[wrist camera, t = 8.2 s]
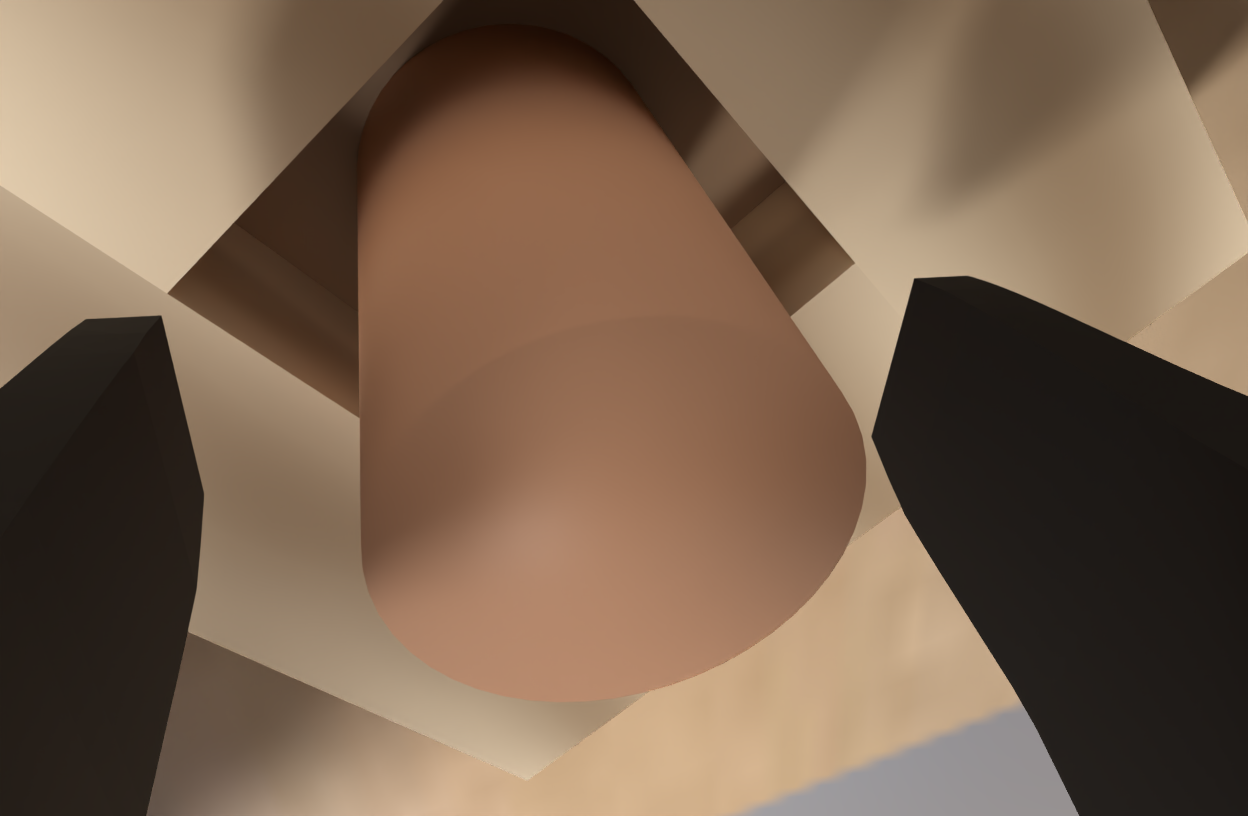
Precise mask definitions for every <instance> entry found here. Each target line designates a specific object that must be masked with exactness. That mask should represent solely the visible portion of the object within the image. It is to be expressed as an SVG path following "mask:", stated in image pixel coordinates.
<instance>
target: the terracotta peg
mask: <svg viewBox="0 0 1248 816" xmlns="http://www.w3.org/2000/svg"><path fill="white" fill-rule="evenodd" d="M357 222H358V318H359V414H360V510H361V554H362V569H363V573H364V577H365V580H366V584H367V588H368V592H369V594H370V597H371V599H372V601H373V603H374V605H375V607H376V610H377V612H378V614H379V616H380V617H381V618H382V620H383V621H384V623H385V624H386V626H387V627H388V628H389V630H390V631H391V633H392V634H393V635H394V636H395V637H396V638H397V639H398V640H399V641H400V642H401V643H402V644H403V645H404V646H405V647H406V648H407V649H408V650H409V651H410V652H411V653H412V654H413V655H415V656H416V657H417V658H419V659H420V660H421V661H423V662H424V663H425V664H427V665H428V666H429V667H431V668H433V669H435V670H436V671H438V672H440V673H442V674H444V675H446V676H447V677H449V678H451V679H453V680H455V681H458V682H460V683H463V684H465V685H468V686H471V687H473V688H476V689H479V690H482V691H486V692H490V693H493V694H497V695H501V696H505V697H512V698H518V699H524V700H530V701H546V702H587V701H596V700H605V699H614V698H619V697H624V696H630V695H635V694H640V693H644V692H648V691H651V690H655V689H659V688H662V687H666V686H669V685H672V684H675V683H678V682H680V681H683V680H686V679H689V678H691V677H694V676H697V675H699V674H701V673H703V672H706V671H708V670H710V669H712V668H714V667H716V666H718V665H721V664H723V663H725V662H727V661H728V660H730V659H732V658H734V657H735V656H737V655H739V654H741V653H742V652H744V651H746V650H748V649H749V648H751V647H752V646H754V645H755V644H757V643H758V642H760V641H761V640H762V639H764V638H765V637H767V636H768V635H770V634H771V633H773V632H774V631H775V630H776V629H777V628H779V627H780V626H781V625H782V624H783V623H785V622H786V621H787V620H788V619H790V618H791V617H792V616H793V615H794V614H795V613H796V612H797V611H798V610H799V609H800V608H801V607H802V606H803V605H804V604H805V603H806V602H807V601H808V600H809V599H810V598H811V597H812V596H813V595H814V594H815V592H816V591H817V590H818V589H819V588H820V586H821V585H822V584H823V583H824V581H825V580H826V579H827V578H828V577H829V575H830V574H831V572H832V571H833V569H834V568H835V566H836V564H837V563H838V561H839V560H840V558H841V557H842V555H843V553H844V551H845V549H846V547H847V545H848V543H849V541H850V539H851V537H852V535H853V533H854V531H855V528H856V525H857V522H858V518H859V515H860V512H861V509H862V505H863V499H864V493H865V488H866V455H865V449H864V443H863V437H862V434H861V431H860V428H859V425H858V423H857V420H856V417H855V414H854V412H853V410H852V409H851V407H850V405H849V404H848V402H847V400H846V399H845V397H844V395H843V393H842V392H841V390H840V389H839V387H838V386H837V384H836V383H835V381H834V380H833V379H832V377H831V376H830V374H829V373H828V371H827V370H826V368H825V367H824V365H823V364H822V362H821V361H820V360H819V358H818V357H817V355H816V354H815V352H814V351H813V349H812V348H811V346H810V345H809V343H808V342H807V340H806V339H805V338H804V336H803V335H802V333H801V332H800V330H799V329H798V327H797V326H796V324H795V323H794V321H793V320H792V319H791V317H790V316H789V314H788V313H787V311H786V310H785V308H784V307H783V305H782V304H781V302H780V301H779V300H778V298H777V297H776V295H775V294H774V292H773V291H772V289H771V288H770V286H769V285H768V283H767V282H766V280H765V279H764V278H763V276H762V275H761V273H760V272H759V270H758V269H757V267H756V266H755V264H754V263H753V261H752V260H751V259H750V257H749V256H748V254H747V253H746V251H745V250H744V248H743V247H742V245H741V244H740V242H739V241H738V240H737V238H736V237H735V235H734V234H733V232H732V231H731V229H730V228H729V226H728V225H727V223H726V222H725V220H724V219H723V218H722V216H721V215H720V213H719V212H718V210H717V209H716V207H715V206H714V204H713V203H712V201H711V200H710V199H709V197H708V196H707V194H706V193H705V191H704V190H703V188H702V187H701V185H700V184H699V182H698V181H697V180H696V178H695V177H694V175H693V174H692V172H691V171H690V169H689V168H688V166H687V165H686V163H685V162H684V160H683V159H682V158H681V156H680V155H679V153H678V152H677V150H676V149H675V147H674V146H673V144H672V143H671V141H670V140H669V139H668V137H667V136H666V134H665V133H664V131H663V130H662V128H661V127H660V125H659V124H658V122H657V121H656V120H655V118H654V117H653V115H652V114H651V112H650V111H649V109H648V108H647V106H646V105H645V103H644V102H643V100H642V99H641V98H640V96H639V95H638V93H637V92H636V90H635V89H634V87H633V86H632V84H631V83H630V82H629V81H628V80H627V78H626V77H625V76H624V75H623V73H622V72H621V71H620V70H619V69H618V68H617V67H616V66H615V65H614V64H613V63H612V62H611V61H609V60H608V59H607V58H606V57H605V56H604V55H602V54H601V53H599V52H598V51H597V50H595V49H594V48H592V47H591V46H589V45H588V44H586V43H584V42H582V41H580V40H578V39H576V38H574V37H572V36H570V35H567V34H564V33H561V32H558V31H555V30H552V29H549V28H544V27H538V26H533V25H525V24H496V25H486V26H481V27H477V28H472V29H467V30H464V31H461V32H459V33H456V34H453V35H450V36H448V37H445V38H443V39H441V40H439V41H438V42H436V43H434V44H432V45H430V46H428V47H426V48H425V49H424V50H422V51H421V52H419V53H418V54H417V55H415V56H414V57H413V58H411V59H410V60H409V61H408V62H407V63H405V64H404V65H403V66H402V67H401V68H400V69H399V70H398V71H397V72H396V73H395V74H394V75H393V76H392V78H391V79H390V80H389V82H388V83H387V84H386V85H385V87H384V88H383V89H382V90H381V92H380V94H379V96H378V97H377V99H376V101H375V102H374V104H373V106H372V108H371V110H370V112H369V115H368V117H367V120H366V122H365V125H364V127H363V131H362V135H361V139H360V144H359V149H358V160H357Z"/></svg>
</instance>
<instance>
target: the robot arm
mask: <svg viewBox="0 0 1248 816" xmlns="http://www.w3.org/2000/svg"><path fill="white" fill-rule="evenodd" d="M871 437H872V440H873V442H874V445H875V447H876V450H877V452H878V454H879V457H880V459H881V462H882V464H883V467H884V469H885V472H886V474H887V477H888V479H889V481H890V483H891V486H892V488H893V490H894V492H895V494H896V496H897V499H898V501H899V503H900V505H901V507H902V509H903V512H904V514H905V516H906V517H907V519H908V521H909V522H910V524H911V526H912V527H913V529H914V531H915V533H916V534H917V536H918V537H919V539H920V541H921V542H922V544H923V546H924V547H925V549H926V550H927V552H928V554H929V555H930V557H931V558H932V560H933V562H934V563H935V565H936V567H937V568H938V570H939V571H940V573H941V575H942V576H943V578H944V579H945V581H946V583H947V584H948V586H949V587H950V589H951V590H952V592H953V594H954V595H955V597H956V598H957V600H958V602H959V603H960V605H961V606H962V608H963V609H964V611H965V613H966V614H967V616H968V617H969V619H970V620H971V622H972V624H973V625H974V627H975V628H976V630H977V631H978V633H979V635H980V636H981V638H982V639H983V641H984V643H985V644H986V646H987V647H988V649H989V650H990V652H991V654H992V655H993V657H994V658H995V660H996V661H997V663H998V665H999V666H1000V668H1001V669H1002V671H1003V673H1004V674H1005V676H1006V677H1007V679H1008V680H1009V682H1010V684H1011V685H1012V687H1013V688H1014V690H1015V692H1016V694H1017V695H1018V697H1019V699H1020V701H1021V702H1022V704H1023V706H1024V708H1025V709H1026V711H1027V713H1028V715H1029V716H1030V718H1031V720H1032V722H1033V723H1034V725H1035V727H1036V729H1037V731H1038V733H1039V735H1040V737H1041V739H1042V741H1043V743H1044V745H1045V747H1046V749H1047V751H1048V753H1049V755H1050V757H1051V759H1052V761H1053V763H1054V765H1055V767H1056V769H1057V771H1058V773H1059V775H1060V777H1061V779H1062V782H1063V783H1064V785H1065V788H1066V790H1067V792H1068V794H1069V796H1070V798H1071V800H1072V802H1073V804H1074V806H1075V808H1076V810H1077V812H1078V814H1079V816H1248V396H1246V395H1244V394H1241V393H1239V392H1236V391H1234V390H1232V389H1229V388H1227V387H1224V386H1222V385H1220V384H1217V383H1215V382H1213V381H1211V380H1208V379H1206V378H1204V377H1201V376H1199V375H1197V374H1195V373H1192V372H1190V371H1188V370H1186V369H1183V368H1181V367H1179V366H1177V365H1174V364H1172V363H1170V362H1168V361H1166V360H1163V359H1161V358H1159V357H1157V356H1155V355H1152V354H1150V353H1148V352H1146V351H1144V350H1142V349H1139V348H1137V347H1135V346H1133V345H1131V344H1129V343H1126V342H1124V341H1122V340H1120V339H1118V338H1116V337H1113V336H1111V335H1109V334H1107V333H1105V332H1103V331H1101V330H1098V329H1096V328H1094V327H1092V326H1090V325H1088V324H1085V323H1083V322H1081V321H1079V320H1077V319H1075V318H1072V317H1070V316H1068V315H1066V314H1064V313H1062V312H1059V311H1057V310H1055V309H1053V308H1050V307H1048V306H1046V305H1044V304H1042V303H1039V302H1037V301H1035V300H1032V299H1030V298H1028V297H1025V296H1023V295H1021V294H1018V293H1016V292H1013V291H1011V290H1008V289H1006V288H1003V287H1001V286H998V285H995V284H992V283H990V282H987V281H984V280H981V279H977V278H974V277H971V276H949V277H929V278H914V281H913V284H912V288H911V292H910V295H909V299H908V303H907V306H906V310H905V314H904V317H903V321H902V325H901V329H900V332H899V336H898V340H897V343H896V347H895V351H894V354H893V358H892V362H891V365H890V369H889V373H888V376H887V380H886V384H885V387H884V391H883V395H882V399H881V402H880V406H879V410H878V413H877V417H876V421H875V424H874V428H873V432H872V435H871ZM203 506H204V491H203V487H202V482H201V478H200V474H199V470H198V466H197V461H196V457H195V453H194V449H193V445H192V441H191V436H190V432H189V428H188V424H187V420H186V416H185V411H184V407H183V403H182V399H181V395H180V390H179V386H178V382H177V378H176V374H175V370H174V365H173V361H172V357H171V353H170V349H169V345H168V340H167V336H166V332H165V328H164V324H163V319H162V315H158V316H138V317H118V318H97V319H85V320H84V321H82V322H81V323H80V324H78V325H77V326H75V327H74V328H72V329H71V330H70V331H69V332H67V333H66V334H65V335H63V336H62V337H61V338H60V339H59V340H57V341H56V342H55V343H54V344H52V345H51V346H50V347H49V348H48V349H46V350H45V351H44V352H43V353H42V354H40V355H39V356H38V357H37V358H36V359H34V360H33V361H32V362H31V363H30V364H29V365H27V366H26V367H25V368H24V369H23V370H21V371H20V372H19V373H18V374H17V375H16V376H14V377H13V378H12V379H11V380H10V381H8V382H7V383H6V384H5V385H4V386H3V387H1V388H0V816H146V813H147V809H148V805H149V800H150V796H151V791H152V787H153V783H154V778H155V774H156V769H157V765H158V761H159V756H160V752H161V747H162V743H163V739H164V734H165V730H166V726H167V721H168V717H169V712H170V708H171V704H172V699H173V695H174V691H175V686H176V682H177V677H178V673H179V669H180V664H181V660H182V655H183V651H184V646H185V641H186V637H187V632H188V628H189V623H190V619H191V614H192V610H193V605H194V600H195V595H196V590H197V581H198V570H199V559H200V548H201V534H202V520H203Z"/></svg>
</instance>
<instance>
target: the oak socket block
mask: <svg viewBox="0 0 1248 816" xmlns="http://www.w3.org/2000/svg"><path fill="white" fill-rule="evenodd" d="M496 24H525V25H533V26H538V27H544V28H549V29H552V30H555V31H558V32H561V33H564V34H567V35H570V36H572V37H574V38H576V39H578V40H580V41H582V42H584V43H586V44H588V45H589V46H591V47H592V48H594V49H595V50H597V51H598V52H599V53H601V54H602V55H604V56H605V57H606V58H607V59H608V60H609V61H611V62H612V63H613V64H614V65H615V66H616V67H617V68H618V69H619V70H620V71H621V72H622V73H623V75H624V76H625V77H626V78H627V80H628V81H629V82H630V83H631V84H632V86H633V87H634V89H635V90H636V92H637V93H638V95H639V96H640V98H641V99H642V100H643V102H644V103H645V105H646V106H647V108H648V109H649V111H650V112H651V114H652V115H653V117H654V118H655V120H656V121H657V122H658V124H659V125H660V127H661V128H662V130H663V131H664V133H665V134H666V136H667V137H668V139H669V140H670V141H671V143H672V144H673V146H674V147H675V149H676V150H677V152H678V153H679V155H680V156H681V158H682V159H683V160H684V162H685V163H686V165H687V166H688V168H689V169H690V171H691V172H692V174H693V175H694V177H695V178H696V180H697V181H698V182H699V184H700V185H701V187H702V188H703V190H704V191H705V193H706V194H707V196H708V197H709V199H710V200H711V201H712V203H713V204H714V206H715V207H716V209H717V210H718V212H719V213H720V215H721V216H722V218H723V219H724V220H725V222H726V223H727V225H728V226H729V228H730V229H731V231H732V232H733V234H734V235H735V237H736V238H737V240H738V241H739V242H740V244H741V245H742V247H743V248H744V250H745V251H746V253H747V254H748V256H749V257H750V259H751V260H752V261H753V263H754V264H755V266H756V267H757V269H758V270H759V272H760V273H761V275H762V276H763V278H764V279H765V280H766V282H767V283H768V285H769V286H770V288H771V289H772V291H773V292H774V294H775V295H776V297H777V298H778V300H779V301H780V302H781V304H782V305H783V307H784V308H785V310H786V311H787V313H788V314H789V316H790V317H791V319H792V320H793V321H794V323H795V324H796V326H797V327H798V329H799V330H800V332H801V333H802V335H803V336H804V338H805V339H806V340H807V342H808V343H809V345H810V346H811V348H812V349H813V351H814V352H815V354H816V355H817V357H818V358H819V360H820V361H821V362H822V364H823V365H824V367H825V368H826V370H827V371H828V373H829V374H830V376H831V377H832V379H833V380H834V381H835V383H836V384H837V386H838V387H839V389H840V390H841V392H842V393H843V395H844V397H845V399H846V400H847V402H848V404H849V405H850V407H851V409H852V410H853V412H854V414H855V417H856V420H857V423H858V425H859V428H860V431H861V434H862V437H863V443H864V449H865V455H866V488H865V493H864V499H863V505H862V509H861V512H860V515H859V518H858V522H857V525H856V528H855V531H854V533H853V535H852V537H851V539H850V541H849V543H848V545H847V546H849V545H850V544H851V543H853V542H854V541H855V540H857V539H858V538H859V537H861V536H862V535H864V534H865V533H866V532H868V531H869V530H870V529H872V528H873V527H874V526H876V525H877V524H879V523H880V522H881V521H883V520H884V519H885V518H887V517H888V516H889V515H891V514H892V513H894V512H895V511H896V510H898V509H899V508H900V507H901V505H900V503H899V501H898V499H897V496H896V494H895V492H894V490H893V488H892V486H891V483H890V481H889V479H888V477H887V474H886V472H885V469H884V467H883V464H882V462H881V459H880V457H879V454H878V452H877V450H876V447H875V445H874V442H873V440H872V437H871V435H872V432H873V428H874V424H875V421H876V417H877V413H878V410H879V406H880V402H881V399H882V395H883V391H884V387H885V384H886V380H887V376H888V373H889V369H890V365H891V362H892V358H893V354H894V351H895V347H896V343H897V340H898V336H899V332H900V329H901V325H902V321H903V317H904V314H905V310H906V306H907V303H908V299H909V295H910V292H911V288H912V284H913V281H914V278H929V277H949V276H971V277H974V278H977V279H981V280H984V281H987V282H990V283H992V284H995V285H998V286H1001V287H1003V288H1006V289H1008V290H1011V291H1013V292H1016V293H1018V294H1021V295H1023V296H1025V297H1028V298H1030V299H1032V300H1035V301H1037V302H1039V303H1042V304H1044V305H1046V306H1048V307H1050V308H1053V309H1055V310H1057V311H1059V312H1062V313H1064V314H1066V315H1068V316H1070V317H1072V318H1075V319H1077V320H1079V321H1081V322H1083V323H1085V324H1088V325H1090V326H1092V327H1094V328H1096V329H1098V330H1101V331H1103V332H1105V333H1107V334H1109V335H1111V336H1113V337H1116V338H1118V339H1120V340H1122V341H1124V342H1127V341H1128V340H1130V339H1131V338H1132V337H1134V336H1135V335H1136V334H1138V333H1139V332H1141V331H1142V330H1143V329H1145V328H1146V327H1147V326H1149V325H1150V324H1151V323H1153V322H1154V321H1156V320H1157V319H1158V318H1160V317H1161V316H1162V315H1164V314H1165V313H1166V312H1168V311H1169V310H1171V309H1172V308H1173V307H1175V306H1176V305H1177V304H1179V303H1180V302H1181V301H1183V300H1184V299H1186V298H1187V297H1188V296H1190V295H1191V294H1192V293H1194V292H1195V291H1196V290H1198V289H1199V288H1201V287H1202V286H1203V285H1205V284H1206V283H1207V282H1209V281H1210V280H1211V279H1213V278H1214V277H1216V276H1217V275H1218V274H1220V273H1221V272H1222V271H1224V270H1225V269H1226V268H1228V267H1229V266H1231V265H1232V264H1233V263H1235V262H1236V261H1237V260H1239V259H1240V258H1241V257H1243V256H1244V255H1246V254H1247V253H1248V222H1247V220H1246V218H1245V215H1244V213H1243V211H1242V209H1241V206H1240V204H1239V202H1238V200H1237V198H1236V195H1235V193H1234V191H1233V189H1232V186H1231V184H1230V182H1229V180H1228V178H1227V175H1226V173H1225V171H1224V169H1223V167H1222V164H1221V162H1220V160H1219V158H1218V155H1217V153H1216V151H1215V149H1214V147H1213V144H1212V142H1211V140H1210V138H1209V135H1208V133H1207V131H1206V129H1205V127H1204V124H1203V122H1202V120H1201V118H1200V116H1199V113H1198V111H1197V109H1196V107H1195V104H1194V102H1193V100H1192V98H1191V96H1190V93H1189V91H1188V89H1187V87H1186V84H1185V82H1184V80H1183V78H1182V76H1181V73H1180V71H1179V69H1178V67H1177V65H1176V62H1175V60H1174V58H1173V56H1172V53H1171V51H1170V49H1169V47H1168V45H1167V42H1166V40H1165V38H1164V36H1163V33H1162V31H1161V29H1160V27H1159V25H1158V22H1157V20H1156V18H1155V16H1154V13H1153V11H1152V9H1151V7H1150V5H1149V2H1148V0H0V388H1V387H3V386H4V385H5V384H6V383H7V382H8V381H10V380H11V379H12V378H13V377H14V376H16V375H17V374H18V373H19V372H20V371H21V370H23V369H24V368H25V367H26V366H27V365H29V364H30V363H31V362H32V361H33V360H34V359H36V358H37V357H38V356H39V355H40V354H42V353H43V352H44V351H45V350H46V349H48V348H49V347H50V346H51V345H52V344H54V343H55V342H56V341H57V340H59V339H60V338H61V337H62V336H63V335H65V334H66V333H67V332H69V331H70V330H71V329H72V328H74V327H75V326H77V325H78V324H80V323H81V322H82V321H84V320H85V319H97V318H118V317H138V316H158V315H162V319H163V324H164V328H165V332H166V336H167V340H168V345H169V349H170V353H171V357H172V361H173V365H174V370H175V374H176V378H177V382H178V386H179V390H180V395H181V399H182V403H183V407H184V411H185V416H186V420H187V424H188V428H189V432H190V436H191V441H192V445H193V449H194V453H195V457H196V461H197V466H198V470H199V474H200V478H201V482H202V487H203V491H204V506H203V520H202V534H201V548H200V559H199V570H198V581H197V590H196V595H195V600H194V605H193V610H192V614H191V619H190V623H189V628H188V632H189V633H191V634H194V635H196V636H198V637H201V638H203V639H205V640H207V641H210V642H212V643H214V644H216V645H219V646H221V647H223V648H226V649H228V650H230V651H232V652H235V653H237V654H239V655H242V656H244V657H246V658H248V659H251V660H253V661H255V662H258V663H260V664H262V665H264V666H267V667H269V668H271V669H273V670H276V671H278V672H280V673H283V674H285V675H287V676H289V677H292V678H294V679H296V680H299V681H301V682H303V683H305V684H308V685H310V686H312V687H314V688H317V689H319V690H321V691H324V692H326V693H328V694H330V695H333V696H335V697H337V698H340V699H342V700H344V701H346V702H349V703H351V704H353V705H356V706H358V707H360V708H362V709H365V710H367V711H369V712H371V713H374V714H376V715H378V716H381V717H383V718H385V719H387V720H390V721H392V722H394V723H397V724H399V725H401V726H403V727H406V728H408V729H410V730H413V731H415V732H417V733H419V734H422V735H424V736H426V737H428V738H431V739H433V740H435V741H438V742H440V743H442V744H444V745H447V746H449V747H451V748H454V749H456V750H458V751H460V752H463V753H465V754H467V755H469V756H472V757H474V758H476V759H479V760H481V761H483V762H485V763H488V764H490V765H492V766H495V767H497V768H499V769H501V770H504V771H506V772H508V773H511V774H513V775H515V776H517V777H520V778H522V779H524V780H526V781H528V780H529V779H531V778H532V777H533V776H535V775H536V774H537V773H539V772H540V771H542V770H543V769H544V768H546V767H547V766H548V765H550V764H551V763H552V762H554V761H555V760H557V759H558V758H559V757H561V756H562V755H563V754H565V753H566V752H567V751H569V750H570V749H572V748H573V747H574V746H576V745H577V744H578V743H580V742H581V741H582V740H584V739H585V738H587V737H588V736H589V735H591V734H592V733H593V732H595V731H596V730H597V729H599V728H600V727H602V726H603V725H604V724H606V723H607V722H608V721H610V720H611V719H612V718H614V717H615V716H617V715H618V714H619V713H621V712H622V711H623V710H625V709H626V708H628V707H629V706H630V705H632V704H633V703H634V702H636V701H637V700H638V699H640V698H641V697H643V696H644V695H645V694H647V693H648V692H649V691H648V692H644V693H640V694H635V695H630V696H624V697H619V698H614V699H605V700H596V701H587V702H546V701H530V700H524V699H518V698H512V697H505V696H501V695H497V694H493V693H490V692H486V691H482V690H479V689H476V688H473V687H471V686H468V685H465V684H463V683H460V682H458V681H455V680H453V679H451V678H449V677H447V676H446V675H444V674H442V673H440V672H438V671H436V670H435V669H433V668H431V667H429V666H428V665H427V664H425V663H424V662H423V661H421V660H420V659H419V658H417V657H416V656H415V655H413V654H412V653H411V652H410V651H409V650H408V649H407V648H406V647H405V646H404V645H403V644H402V643H401V642H400V641H399V640H398V639H397V638H396V637H395V636H394V635H393V634H392V633H391V631H390V630H389V628H388V627H387V626H386V624H385V623H384V621H383V620H382V618H381V617H380V616H379V614H378V612H377V610H376V607H375V605H374V603H373V601H372V599H371V597H370V594H369V592H368V588H367V584H366V580H365V577H364V573H363V569H362V554H361V510H360V414H359V318H358V222H357V160H358V149H359V144H360V139H361V135H362V131H363V127H364V125H365V122H366V120H367V117H368V115H369V112H370V110H371V108H372V106H373V104H374V102H375V101H376V99H377V97H378V96H379V94H380V92H381V90H382V89H383V88H384V87H385V85H386V84H387V83H388V82H389V80H390V79H391V78H392V76H393V75H394V74H395V73H396V72H397V71H398V70H399V69H400V68H401V67H402V66H403V65H404V64H405V63H407V62H408V61H409V60H410V59H411V58H413V57H414V56H415V55H417V54H418V53H419V52H421V51H422V50H424V49H425V48H426V47H428V46H430V45H432V44H434V43H436V42H438V41H439V40H441V39H443V38H445V37H448V36H450V35H453V34H456V33H459V32H461V31H464V30H467V29H472V28H477V27H481V26H486V25H496Z"/></svg>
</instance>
